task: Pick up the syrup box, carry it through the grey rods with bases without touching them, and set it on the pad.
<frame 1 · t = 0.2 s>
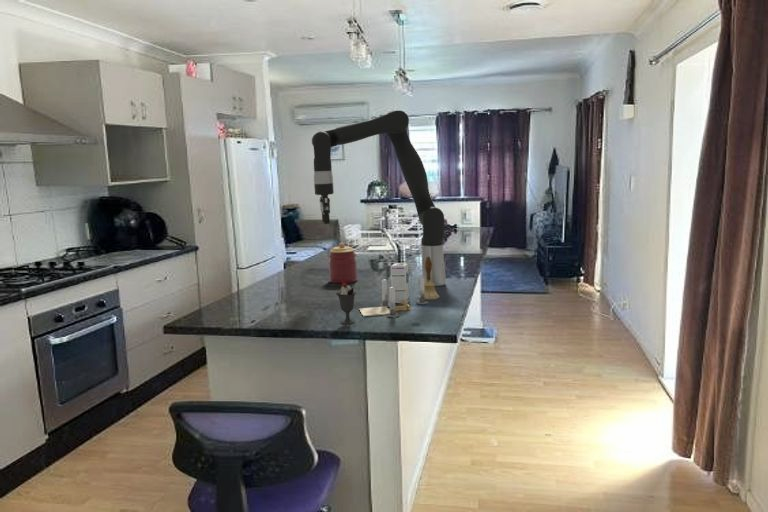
hand: (326, 222, 231), 29 cm above the countertop, tool pointing down, fingers open, 8 cm apart
syrup box: (400, 302, 215), on the countertop
canister: (343, 281, 259), on the countertop
sundae: (347, 323, 190), on the countertop
pad: (375, 312, 201), on the countertop
whisk broom: (428, 297, 221), on the countertop
grey rods with bases: (408, 309, 203), on the countertop
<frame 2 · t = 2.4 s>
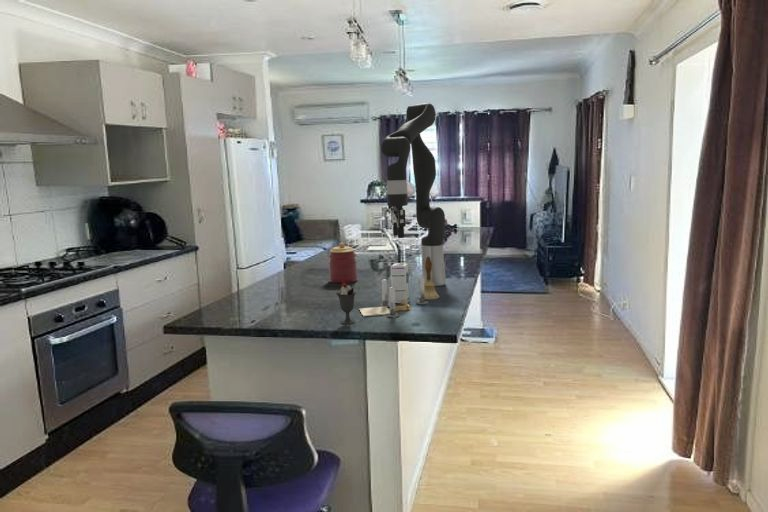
hand: (398, 236, 211), 25 cm above the countertop, tool pointing down, fingers open, 8 cm apart
nothing on the countertop moved.
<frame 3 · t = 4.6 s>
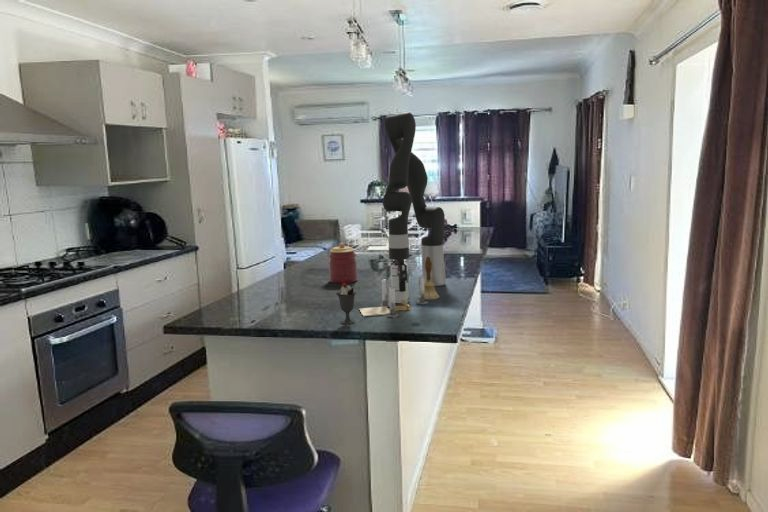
hand: (400, 289, 214), 5 cm above the countertop, tool pointing down, fingers closed on syrup box, 7 cm apart
syrup box: (400, 302, 215), on the countertop, touching gripper
everything else where it was.
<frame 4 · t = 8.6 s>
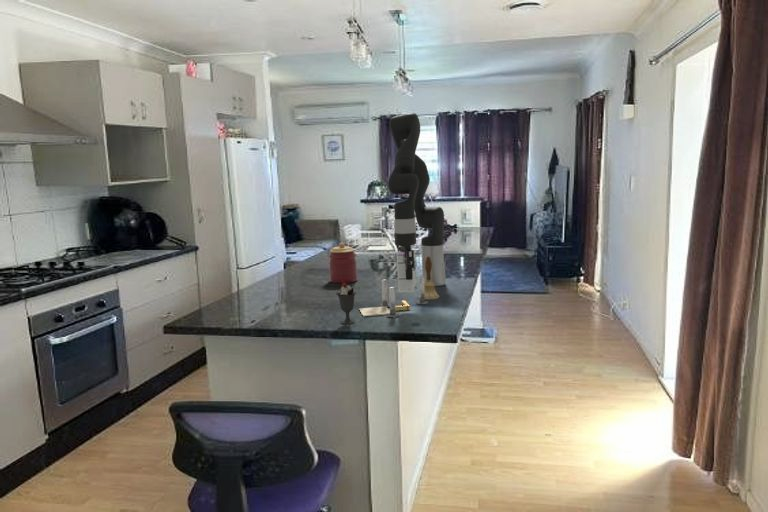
hand: (406, 277, 202), 12 cm above the countertop, tool pointing down, fingers closed on syrup box, 7 cm apart
syrup box: (407, 291, 202), point 7 cm above the countertop, touching gripper
everything else where it was.
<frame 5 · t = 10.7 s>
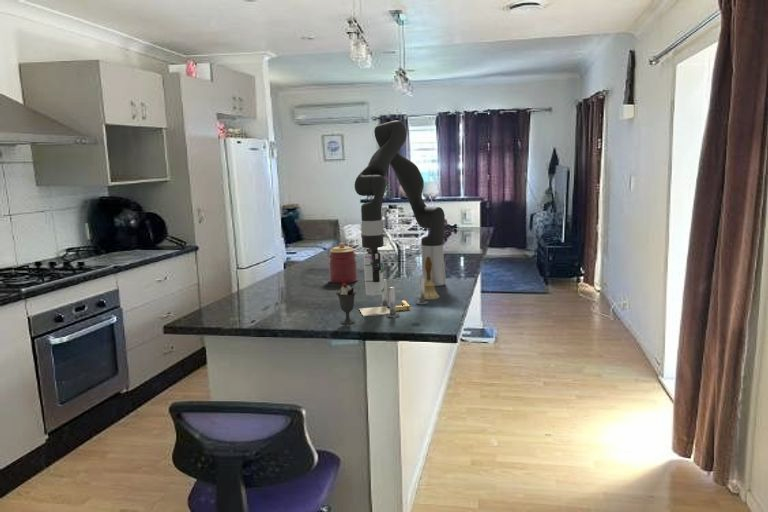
hand: (374, 279, 199), 12 cm above the countertop, tool pointing down, fingers closed on syrup box, 7 cm apart
syrup box: (375, 294, 200), point 7 cm above the countertop, touching gripper
everything else where it was.
when the fingers open (7 cm above the countertop, at t = 12.6 s): syrup box drops 1 cm, resting on pad.
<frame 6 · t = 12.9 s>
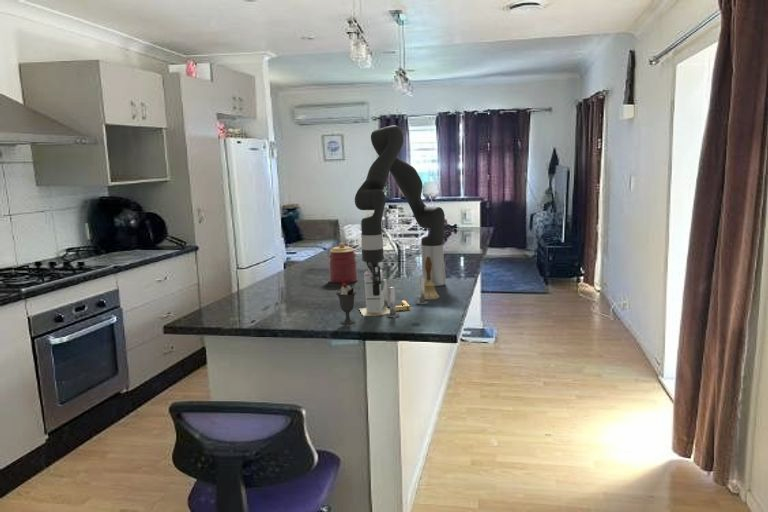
hand: (374, 292, 200), 7 cm above the countertop, tool pointing down, fingers open, 8 cm apart
syrup box: (375, 311, 201), resting on pad
everything else where it was.
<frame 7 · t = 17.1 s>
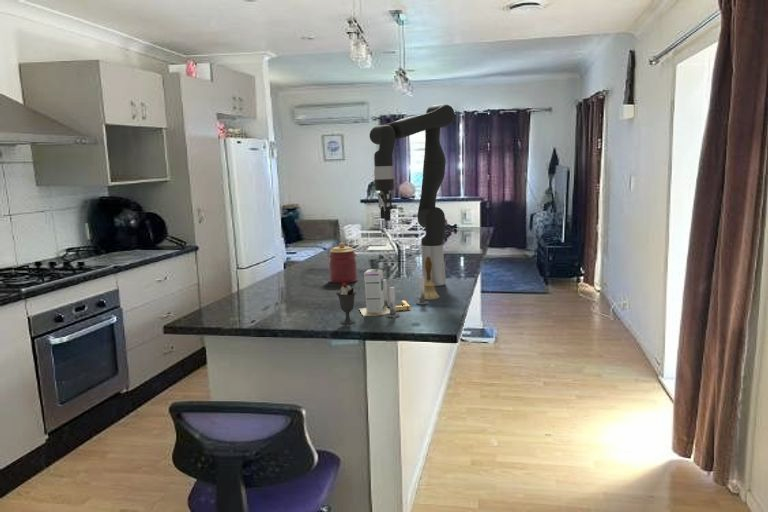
hand: (385, 219, 223), 30 cm above the countertop, tool pointing down, fingers open, 8 cm apart
nothing on the countertop moved.
at the end: syrup box inside the target area on the pad (0.1 cm from its centre), point 0.4 cm above the pad's base; syrup box tilted 0°; syrup box touching pad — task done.
